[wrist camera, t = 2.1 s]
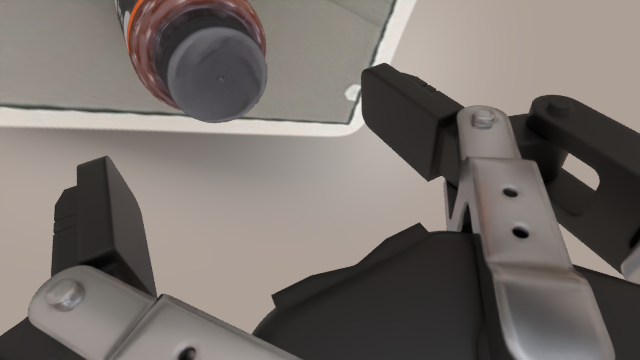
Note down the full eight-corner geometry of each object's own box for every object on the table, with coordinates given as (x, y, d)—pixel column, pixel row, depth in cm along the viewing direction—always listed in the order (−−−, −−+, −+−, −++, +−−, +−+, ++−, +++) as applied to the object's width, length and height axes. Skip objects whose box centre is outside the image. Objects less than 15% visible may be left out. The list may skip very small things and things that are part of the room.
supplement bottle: (91, 12, 21) (101, 104, 13) (146, -86, 19) (193, -47, 12) (187, 68, 25) (237, 163, 17) (238, -9, 23) (316, 57, 16)
